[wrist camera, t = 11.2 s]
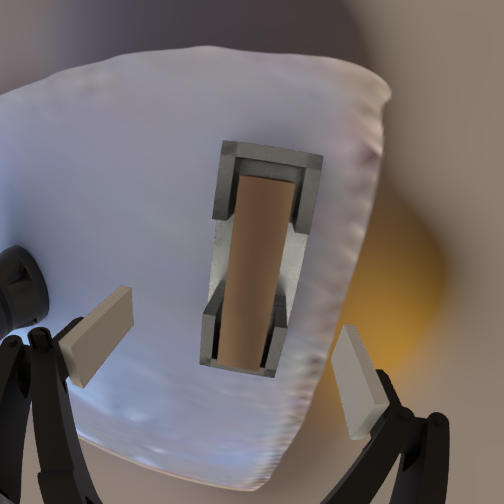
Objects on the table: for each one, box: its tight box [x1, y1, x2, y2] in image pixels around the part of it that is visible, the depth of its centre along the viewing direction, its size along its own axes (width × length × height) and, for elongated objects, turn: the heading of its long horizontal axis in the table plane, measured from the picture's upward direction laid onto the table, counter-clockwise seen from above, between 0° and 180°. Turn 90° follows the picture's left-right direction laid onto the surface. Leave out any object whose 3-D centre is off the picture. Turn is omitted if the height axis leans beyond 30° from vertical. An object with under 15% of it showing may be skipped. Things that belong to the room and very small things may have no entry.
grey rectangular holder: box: [200, 140, 323, 378], centre depth 27 cm, size 10×23×8 cm, turn 171°
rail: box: [217, 175, 295, 371], centre depth 24 cm, size 4×17×6 cm, turn 172°
